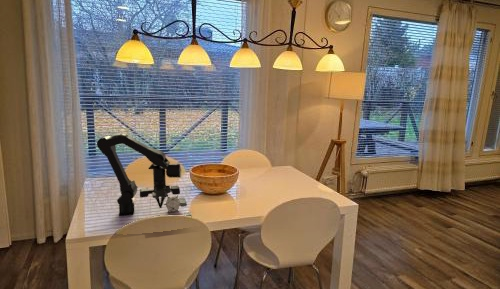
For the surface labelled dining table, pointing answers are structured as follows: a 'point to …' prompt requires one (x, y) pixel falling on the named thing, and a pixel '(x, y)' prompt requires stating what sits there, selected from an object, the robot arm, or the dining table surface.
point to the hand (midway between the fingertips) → (160, 207)
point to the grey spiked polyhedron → (173, 204)
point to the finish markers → (183, 201)
